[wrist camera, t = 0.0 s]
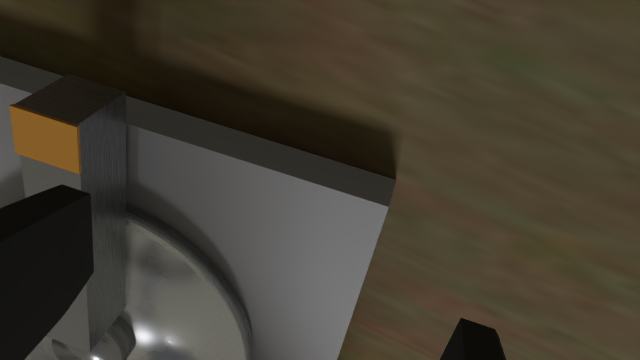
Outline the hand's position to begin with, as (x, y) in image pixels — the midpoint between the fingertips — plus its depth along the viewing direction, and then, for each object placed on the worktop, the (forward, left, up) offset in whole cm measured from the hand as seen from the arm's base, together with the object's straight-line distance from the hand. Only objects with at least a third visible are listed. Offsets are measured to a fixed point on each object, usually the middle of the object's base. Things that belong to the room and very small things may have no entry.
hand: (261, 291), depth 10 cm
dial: (-10, +8, -8) cm, 15 cm away
